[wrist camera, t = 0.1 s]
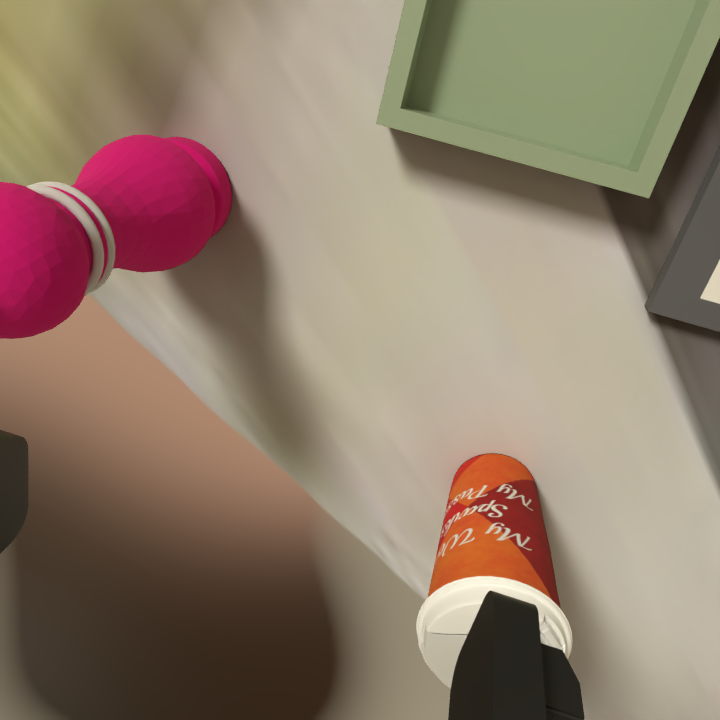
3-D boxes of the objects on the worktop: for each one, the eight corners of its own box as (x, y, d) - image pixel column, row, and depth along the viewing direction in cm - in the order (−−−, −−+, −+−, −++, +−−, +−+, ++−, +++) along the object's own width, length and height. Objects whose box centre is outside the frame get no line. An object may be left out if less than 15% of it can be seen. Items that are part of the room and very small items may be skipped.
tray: (461, -202, 29) (458, -229, 26) (772, -129, 28) (801, -150, 25) (385, 119, 35) (376, 123, 33) (637, 188, 34) (648, 198, 32)
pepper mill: (264, 199, 38) (63, 317, 21) (187, 271, 41) (-47, 428, 23) (180, 100, 37) (-116, 134, 19) (106, 181, 40) (-210, 276, 22)
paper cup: (518, 421, 41) (527, 576, 29) (572, 510, 43) (603, 691, 31) (414, 466, 44) (382, 624, 32) (469, 547, 46) (459, 727, 34)
